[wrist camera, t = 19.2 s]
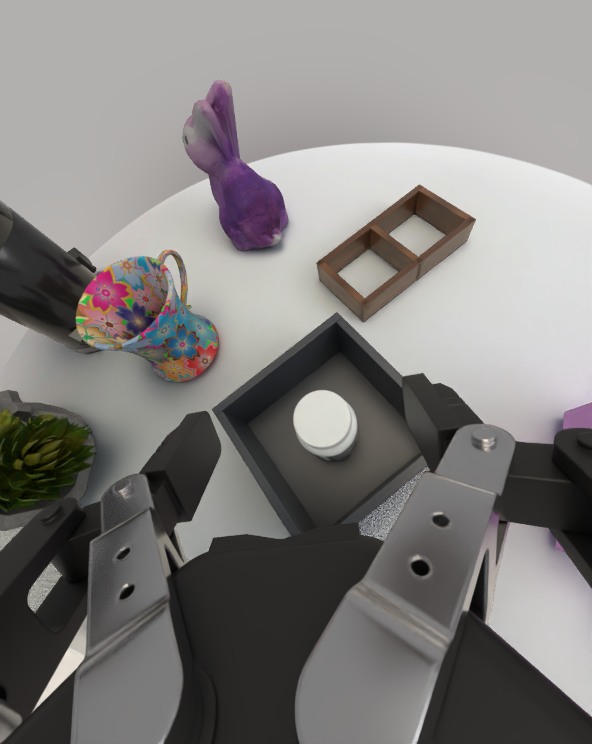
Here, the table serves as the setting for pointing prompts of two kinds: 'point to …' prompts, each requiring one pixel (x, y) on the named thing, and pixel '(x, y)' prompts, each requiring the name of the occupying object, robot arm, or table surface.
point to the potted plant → (39, 458)
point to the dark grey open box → (299, 466)
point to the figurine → (233, 173)
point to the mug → (147, 317)
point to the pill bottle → (326, 425)
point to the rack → (395, 249)
